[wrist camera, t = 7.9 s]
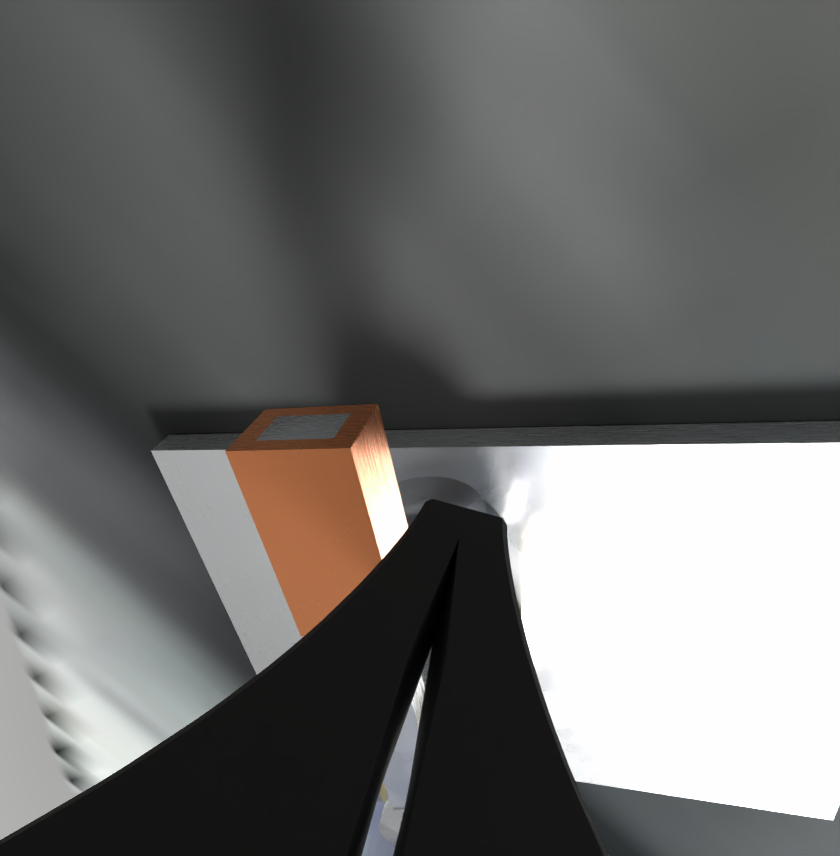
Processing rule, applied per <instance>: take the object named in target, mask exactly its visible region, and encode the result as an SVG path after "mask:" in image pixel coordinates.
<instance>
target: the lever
mask: <svg viewBox="0 0 840 856" xmlns="http://www.w3.org/2000/svg"><path fill="white" fill-rule="evenodd" d="M225 453H226V455H227V457H228V460H229V462H230V465H231V467H232V470H233V472H234V475H235V477H236V479H237V482H238V484H239V487H240V489H241V492H242V494H243V496H244V499H245V501H246V504H247V506H248V509H249V511H250V514H251V516H252V518H253V521H254V523H255V526H256V528H257V531H258V533H259V535H260V538H261V540H262V543H263V545H264V548H265V550H266V553H267V555H268V557H269V560H270V562H271V565H272V567H273V570H274V572H275V575H276V577H277V579H278V582H279V584H280V587H281V589H282V592H283V594H284V596H285V599H286V601H287V604H288V606H289V609H290V611H291V614H292V616H293V618H294V621H295V623H296V626H297V628H298V631H299V633H300V636H301V637H304V636H305V635H306V634H307V633H308V632H309V631H311V630H312V629H313V628H314V627H315V626H316V625H317V624H318V623H319V622H321V621H322V620H323V619H324V618H325V617H326V616H327V615H328V614H329V613H330V612H331V611H332V610H333V609H334V608H335V607H336V606H337V605H338V604H339V603H340V602H341V601H342V600H343V599H344V598H345V597H347V596H348V595H349V594H350V593H351V592H352V591H353V590H354V589H355V588H356V587H357V586H358V585H359V584H360V583H361V582H362V581H363V580H364V579H365V577H366V576H367V575H368V574H369V573H370V572H371V571H372V570H373V569H374V568H375V566H376V565H377V564H378V563H379V562H380V561H381V560H382V559H383V558H384V556H385V555H386V554H387V553H388V552H389V551H390V550H391V549H392V547H393V546H394V545H395V544H396V542H397V541H398V540H399V539H400V538H401V536H402V535H403V534H404V533H405V531H406V530H407V529H408V525H407V521H406V517H405V513H404V509H403V505H402V501H401V496H400V492H399V488H398V484H397V480H396V476H395V472H394V467H393V463H392V459H391V455H390V451H389V447H388V442H387V438H386V434H385V430H384V426H383V422H382V418H381V413H380V409H379V405H378V404H363V405H343V406H322V407H301V408H281V409H265V410H264V411H263V412H262V413H261V414H260V415H259V416H258V417H257V418H256V419H255V420H254V421H253V423H252V424H251V425H250V426H249V427H248V428H247V429H246V430H245V431H244V432H243V433H242V434H241V435H240V436H239V437H238V438H237V439H236V440H235V441H234V442H233V443H232V444H231V445H230V446H229V448H228V449H227V450H226V451H225ZM424 691H425V686H424V683H423V679H422V675H421V678H420V680H419V683H418V686H417V689H416V691H415V694H414V697H413V700H412V702H411V705H410V708H409V711H408V713H407V716H406V719H405V722H404V724H403V727H402V730H401V733H400V735H399V738H398V741H397V744H396V746H395V749H394V752H393V755H392V757H391V760H390V763H389V766H388V768H387V771H386V774H385V777H384V781H383V783H384V785H385V788H386V791H387V793H388V794H387V797H386V801H385V805H384V808H383V812H382V816H381V820H380V823H379V830H380V833H381V834H382V836H383V837H384V839H385V840H386V841H387V842H388V843H389V844H391V845H392V846H393V847H394V848H395V845H396V841H397V837H398V833H399V829H400V825H401V821H402V817H403V812H404V808H405V803H406V798H407V793H408V788H409V783H410V777H411V771H412V765H413V759H414V753H415V747H416V740H417V734H418V728H419V722H420V716H421V710H422V703H423V697H424Z"/></svg>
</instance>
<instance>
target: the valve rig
mask: <svg viewBox="0 0 840 856" xmlns="http://www.w3.org/2000/svg"><path fill="white" fill-rule="evenodd" d="M241 434H242V433H236V434H188V435H169V436H167V437H166V438H165V439H164V440H163V441H162V442H160V443H159V444H158V445H157V446H156V447H155V448H153V449H152V450H151V452H152V454H153V456H154V458H155V460H156V462H157V465H158V467H159V469H160V471H161V473H162V475H163V477H164V479H165V481H166V484H167V486H168V488H169V490H170V492H171V494H172V496H173V498H174V501H175V503H176V505H177V507H178V509H179V511H180V513H181V515H182V518H183V520H184V522H185V524H186V526H187V528H188V530H189V532H190V534H191V537H192V539H193V541H194V543H195V545H196V547H197V549H198V551H199V554H200V556H201V558H202V560H203V562H204V564H205V566H206V568H207V570H208V573H209V575H210V577H211V579H212V581H213V583H214V585H215V587H216V590H217V592H218V594H219V596H220V598H221V600H222V602H223V604H224V607H225V609H226V611H227V613H228V615H229V617H230V619H231V621H232V623H233V626H234V628H235V630H236V632H237V634H238V636H239V638H240V640H241V643H242V645H243V647H244V649H245V651H246V653H247V655H248V657H249V660H250V662H251V664H252V666H253V668H254V670H255V672H256V674H259V673H260V672H261V671H262V670H264V669H265V668H266V667H268V666H269V665H270V664H271V663H273V662H274V661H275V660H276V659H278V658H279V657H280V656H281V655H282V654H284V653H285V652H286V651H287V650H288V649H290V648H291V647H292V646H293V645H294V644H296V643H297V642H298V641H299V640H300V639H301V638H303V637H301V636H300V633H299V631H298V628H297V626H296V623H295V621H294V618H293V616H292V614H291V611H290V609H289V606H288V604H287V601H286V599H285V596H284V594H283V592H282V589H281V587H280V584H279V582H278V579H277V577H276V575H275V572H274V570H273V567H272V565H271V562H270V560H269V557H268V555H267V553H266V550H265V548H264V545H263V543H262V540H261V538H260V535H259V533H258V531H257V528H256V526H255V523H254V521H253V518H252V516H251V514H250V511H249V509H248V506H247V504H246V501H245V499H244V496H243V494H242V492H241V489H240V487H239V484H238V482H237V479H236V477H235V475H234V472H233V470H232V467H231V465H230V462H229V460H228V457H227V455H226V453H225V451H226V450H227V449H228V448H229V446H230V445H231V444H232V443H233V442H234V441H235V440H236V439H237V438H238V437H239V436H240V435H241ZM385 434H386V438H387V442H388V447H389V451H390V455H391V459H392V463H393V467H394V472H395V476H396V480H397V484H398V488H399V492H400V496H401V501H402V505H403V509H404V513H405V517H406V521H407V525H408V527H409V526H410V525H411V523H412V522H413V520H414V519H415V518H416V516H417V515H418V513H419V512H420V510H421V508H422V507H423V505H424V503H425V502H426V501H429V500H431V499H436V500H439V501H443V502H447V503H450V504H454V505H458V506H461V507H465V508H469V509H472V510H476V511H480V512H483V513H487V514H491V515H495V516H498V517H502V518H503V519H504V521H505V522H506V524H507V537H508V549H509V557H510V564H511V570H512V576H513V582H514V587H515V592H516V597H517V602H518V606H519V610H520V614H521V618H522V622H523V626H524V631H525V635H526V639H527V642H528V646H529V649H530V653H531V657H532V660H533V663H534V667H535V670H536V673H537V676H538V680H539V683H540V686H541V689H542V692H543V695H544V698H545V701H546V704H547V707H548V710H549V713H550V716H551V719H552V722H553V725H554V727H555V730H556V733H557V735H558V738H559V741H560V743H561V746H562V749H563V751H564V754H565V757H566V759H567V762H568V764H569V767H570V769H571V772H572V774H573V777H574V779H575V781H580V782H586V783H593V784H599V785H606V786H612V787H619V788H625V789H632V790H638V791H645V792H651V793H658V794H665V795H671V796H678V797H684V798H691V799H697V800H704V801H710V802H717V803H723V804H730V805H736V806H743V807H749V808H756V809H763V810H769V811H776V812H782V813H789V814H795V815H802V816H808V817H815V818H821V819H828V820H833V819H834V817H835V814H836V811H837V809H838V806H839V803H840V421H811V422H763V423H715V424H667V425H619V426H571V427H523V428H475V429H427V430H385ZM431 648H432V647H431ZM430 654H431V650H430V653H429V655H428V658H427V661H426V664H425V667H424V669H423V672H422V679H423V683H424V686H425V685H426V679H427V673H428V667H429V660H430ZM379 794H380V796H381V799H382V802H383V803H385V801H386V797H387V794H388V793H387V791H386V788H385V785H384V783H383V784H382V787H381V790H380V793H379Z"/></svg>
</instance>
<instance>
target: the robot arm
mask: <svg viewBox="0 0 840 856" xmlns="http://www.w3.org/2000/svg"><path fill="white" fill-rule="evenodd" d="M431 647H432V648H431ZM430 650H431V654H430V660H429V667H428V673H427V679H426V685H425V691H424V697H423V703H422V710H421V716H420V722H419V728H418V734H417V740H416V747H415V753H414V759H413V765H412V771H411V777H410V783H409V788H408V793H407V798H406V803H405V808H404V812H403V817H402V821H401V825H400V829H399V833H398V837H397V841H396V845H395V848H394V847H393V846H392V845H391V844H389V843H388V842H387V841H386V840H385V839H384V837H383V836H382V834H381V833H380V830H379V823H380V820H381V816H382V812H383V808H384V805H385V803H383V802H382V799H381V796H380V794H379V793H380V790H381V787H382V784H383V781H384V777H385V774H386V771H387V768H388V766H389V763H390V760H391V757H392V755H393V752H394V749H395V746H396V744H397V741H398V738H399V735H400V733H401V730H402V727H403V724H404V722H405V719H406V716H407V713H408V711H409V708H410V705H411V702H412V700H413V697H414V694H415V691H416V689H417V686H418V683H419V680H420V678H421V675H422V672H423V669H424V667H425V664H426V661H427V658H428V655H429V653H430ZM0 856H608V854H607V852H606V850H605V848H604V845H603V843H602V841H601V839H600V837H599V835H598V833H597V830H596V828H595V826H594V824H593V822H592V820H591V817H590V815H589V813H588V810H587V808H586V806H585V803H584V801H583V798H582V796H581V794H580V791H579V789H578V786H577V784H576V781H575V779H574V777H573V774H572V772H571V769H570V767H569V764H568V762H567V759H566V757H565V754H564V751H563V749H562V746H561V743H560V741H559V738H558V735H557V733H556V730H555V727H554V725H553V722H552V719H551V716H550V713H549V710H548V707H547V704H546V701H545V698H544V695H543V692H542V689H541V686H540V683H539V680H538V676H537V673H536V670H535V667H534V663H533V660H532V657H531V653H530V649H529V646H528V642H527V639H526V635H525V631H524V626H523V622H522V618H521V614H520V610H519V606H518V602H517V597H516V592H515V587H514V582H513V576H512V570H511V564H510V557H509V549H508V537H507V524H506V522H505V521H504V519H503V518H502V517H498V516H495V515H491V514H487V513H483V512H480V511H476V510H472V509H469V508H465V507H461V506H458V505H454V504H450V503H447V502H443V501H439V500H436V499H431V500H429V501H426V502H425V503H424V505H423V507H422V508H421V510H420V512H419V513H418V515H417V516H416V518H415V519H414V520H413V522H412V523H411V525H410V526H409V527H408V529H407V530H406V531H405V533H404V534H403V535H402V536H401V538H400V539H399V540H398V541H397V542H396V544H395V545H394V546H393V547H392V549H391V550H390V551H389V552H388V553H387V554H386V555H385V556H384V558H383V559H382V560H381V561H380V562H379V563H378V564H377V565H376V566H375V568H374V569H373V570H372V571H371V572H370V573H369V574H368V575H367V576H366V577H365V579H364V580H363V581H362V582H361V583H360V584H359V585H358V586H357V587H356V588H355V589H354V590H353V591H352V592H351V593H350V594H349V595H348V596H347V597H345V598H344V599H343V600H342V601H341V602H340V603H339V604H338V605H337V606H336V607H335V608H334V609H333V610H332V611H331V612H330V613H329V614H328V615H327V616H326V617H325V618H324V619H323V620H322V621H321V622H319V623H318V624H317V625H316V626H315V627H314V628H313V629H312V630H311V631H309V632H308V633H307V634H306V635H305V636H304V637H303V638H301V639H300V640H299V641H298V642H297V643H296V644H294V645H293V646H292V647H291V648H290V649H288V650H287V651H286V652H285V653H284V654H282V655H281V656H280V657H279V658H278V659H276V660H275V661H274V662H273V663H271V664H270V665H269V666H268V667H266V668H265V669H264V670H262V671H261V672H260V673H259V674H257V675H256V676H255V677H253V678H252V679H251V680H249V681H248V682H247V683H245V684H244V685H243V686H242V687H240V688H239V689H238V690H236V691H235V692H234V693H232V694H231V695H230V696H228V697H227V698H226V699H224V700H223V701H222V702H220V703H219V704H217V705H216V706H215V707H213V708H212V709H210V710H209V711H208V712H206V713H205V714H203V715H202V716H201V717H199V718H198V719H196V720H195V721H193V722H192V723H190V724H189V725H187V726H186V727H184V728H183V729H181V730H180V731H178V732H177V733H175V734H174V735H172V736H171V737H169V738H167V739H166V740H164V741H163V742H161V743H160V744H158V745H157V746H155V747H154V748H152V749H151V750H149V751H148V752H146V753H145V754H143V755H142V756H140V757H139V758H137V759H136V760H134V761H133V762H131V763H130V764H128V765H127V766H125V767H123V768H122V769H120V770H119V771H117V772H115V773H114V774H112V775H111V776H109V777H107V778H106V779H104V780H103V781H101V782H99V783H98V784H96V785H94V786H92V787H91V788H89V789H87V790H86V791H84V792H82V793H80V794H79V795H77V796H75V797H74V798H72V799H70V800H68V801H67V802H65V803H63V804H62V805H60V806H58V807H56V808H55V809H53V810H51V811H50V812H48V813H46V814H45V815H43V816H41V817H40V818H38V819H36V820H34V821H33V822H31V823H29V824H27V825H26V826H24V827H22V828H21V829H19V830H17V831H15V832H14V833H12V834H10V835H9V836H7V837H5V838H3V839H2V840H0Z"/></svg>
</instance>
